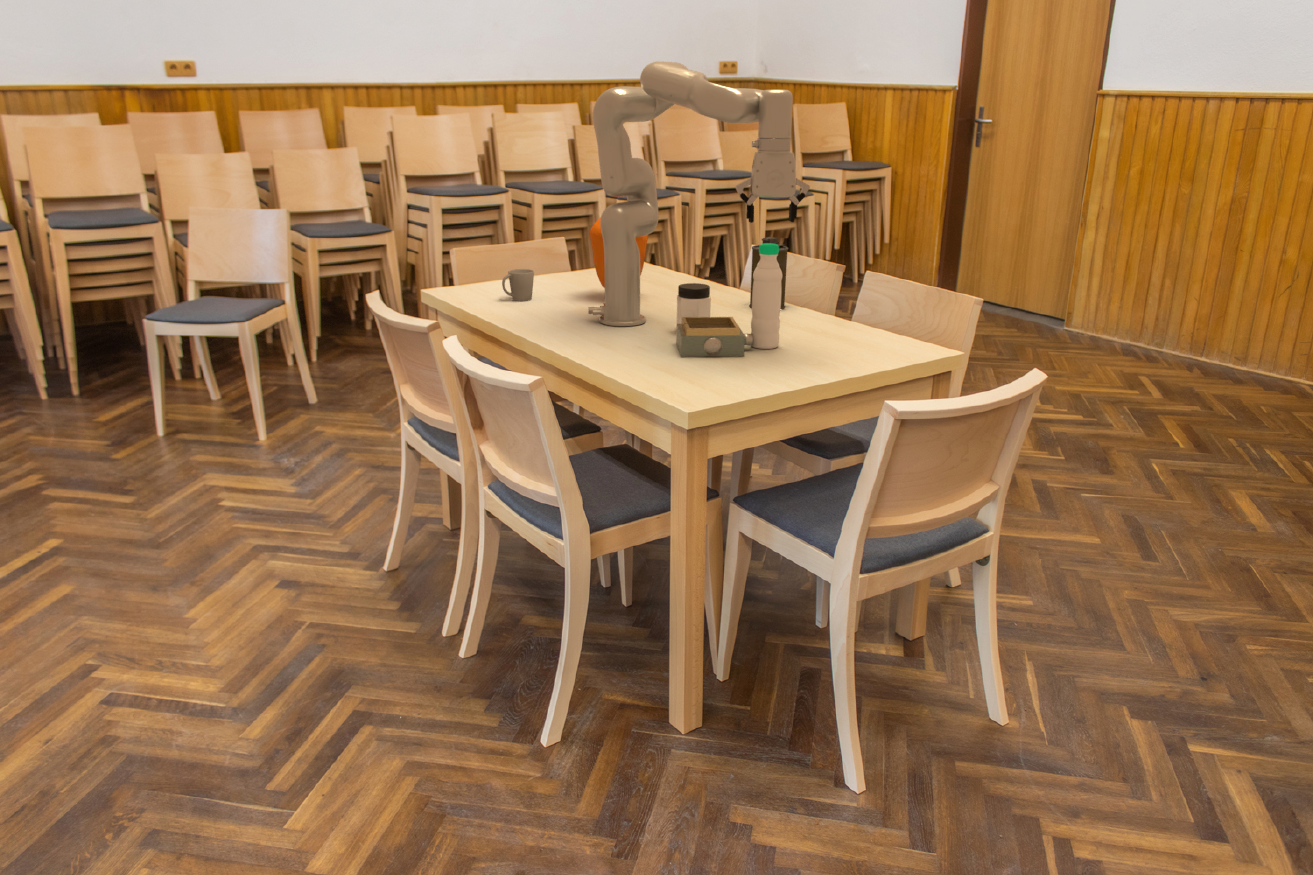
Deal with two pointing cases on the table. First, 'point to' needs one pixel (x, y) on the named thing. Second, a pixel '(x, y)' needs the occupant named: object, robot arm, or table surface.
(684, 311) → the jar
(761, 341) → the water bottle
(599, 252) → the orange egg-shaped ornament
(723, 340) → the gearbox
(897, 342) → the table surface
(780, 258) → the canister
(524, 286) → the cup
